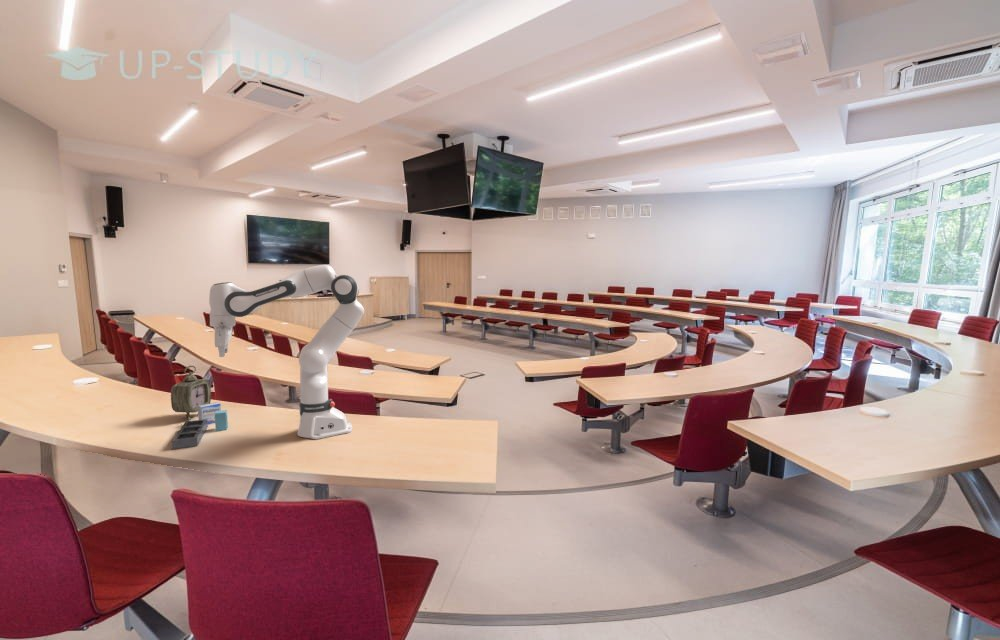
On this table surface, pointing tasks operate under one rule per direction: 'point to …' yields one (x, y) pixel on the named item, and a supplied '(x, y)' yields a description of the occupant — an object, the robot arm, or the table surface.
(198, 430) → the grey rectangular piece
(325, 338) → the robot arm
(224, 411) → the clip
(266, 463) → the table surface
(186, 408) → the tabletop clock
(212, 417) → the medicine box
